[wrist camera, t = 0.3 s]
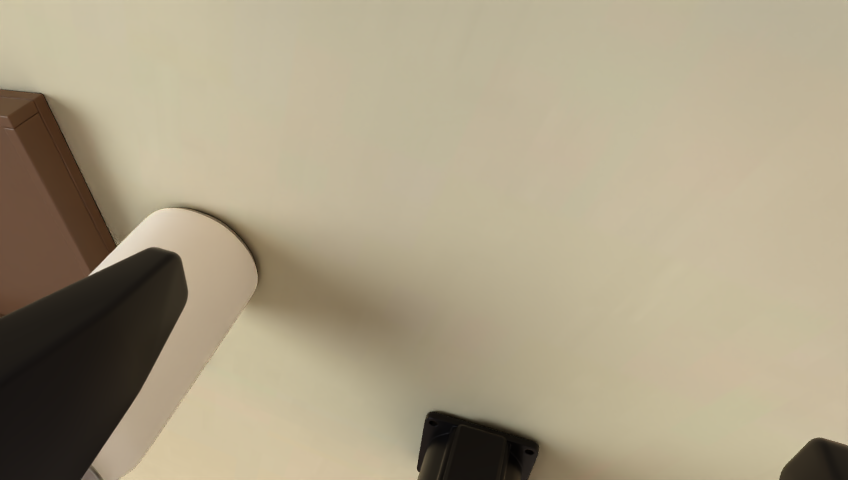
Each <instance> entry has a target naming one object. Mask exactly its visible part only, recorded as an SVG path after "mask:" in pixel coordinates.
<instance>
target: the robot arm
mask: <svg viewBox="0 0 848 480" xmlns="http://www.w3.org/2000/svg"><path fill="white" fill-rule="evenodd" d="M187 298H188V287H187V282H186V278H185V273H184V268H183V263H182V259H181V257H180V256H179V255H178V254H177V253H175V252H172V251H169V250H165V249H162V248H158V247H150V248H147V249H145V250H142V251H140V252H138V253H136V254H134V255H132V256H130V257H128V258H126V259H123V260H121V261H119V262H117V263H115V264H113V265H111V266H109V267H107V268H104V269H102V270H100V271H98V272H96V273H94V274H92V275H90V276H87V277H85V278H83V279H81V280H79V281H77V282H75V283H73V284H71V285H68V286H66V287H64V288H62V289H60V290H58V291H56V292H54V293H52V294H49V295H47V296H45V297H43V298H41V299H39V300H37V301H35V302H32V303H30V304H28V305H26V306H24V307H22V308H20V309H18V310H16V311H13V312H11V313H9V314H7V315H5V316H3V317H1V318H0V480H81V479H82V478H83V476H84V475H85V473H86V472H87V470H88V469H89V467H90V466H91V464H92V463H93V461H94V460H95V458H96V457H97V455H98V454H99V452H100V451H101V449H102V448H103V446H104V445H105V443H106V442H107V440H108V439H109V437H110V436H111V434H112V433H113V431H114V430H115V428H116V427H117V426H118V424H119V423H120V421H121V420H122V418H123V417H124V415H125V414H126V412H127V411H128V409H129V408H130V406H131V405H132V403H133V401H134V400H135V398H136V397H137V395H138V394H139V392H140V390H141V388H142V387H143V385H144V383H145V381H146V380H147V378H148V376H149V374H150V372H151V370H152V368H153V366H154V364H155V363H156V361H157V359H158V357H159V355H160V353H161V351H162V349H163V347H164V345H165V343H166V342H167V340H168V338H169V336H170V334H171V332H172V330H173V328H174V326H175V324H176V322H177V321H178V319H179V317H180V315H181V313H182V311H183V309H184V307H185V305H186V302H187ZM538 452H539V446H538V444H537V443H535V442H533V441H530V440H527V439H523V438H520V437H517V436H513V435H510V434H506V433H503V432H500V431H496V430H493V429H489V428H486V427H483V426H479V425H476V424H473V423H469V422H466V421H462V420H459V419H456V418H452V417H449V416H446V415H442V414H439V413H435V412H430V413H428V414H427V416H426V419H425V423H424V429H423V435H422V441H421V447H420V453H419V459H418V465H417V470H418V472H420V473H419V476H418V480H528V477H529V475H530V472H531V470H532V468H533V465H534V463H535V461H536V458H537V456H538ZM779 480H848V446H847V445H845V444H841V443H838V442H835V441H831V440H828V439H824V438H815V439H812V440H811V441H809V442H808V443H807V444H806V445H805V446H804V447H803V448H802V449H801V450H800V451H799V452H798V453H797V454H796V455H795V456H794V457H793V458H792V459H791V460H790V461H789V462H788V463H787V464H786V465H785V467H784V468H783V470H782V472H781V475H780V479H779Z"/></svg>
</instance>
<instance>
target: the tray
mask: <svg viewBox="0 0 848 480" xmlns="http://www.w3.org/2000/svg"><path fill="white" fill-rule="evenodd" d="M115 248H116V245H115V243H114V241H113V239H112V237H111V235H110V233H109V231H108V229H107V227H106V225H105V223H104V221H103V218H102V216H101V214H100V212H99V210H98V208H97V206H96V204H95V202H94V200H93V198H92V196H91V194H90V191H89V189H88V187H87V185H86V183H85V181H84V179H83V177H82V175H81V173H80V171H79V169H78V167H77V164H76V162H75V160H74V158H73V156H72V154H71V152H70V150H69V148H68V146H67V144H66V142H65V140H64V137H63V135H62V133H61V131H60V129H59V127H58V125H57V123H56V121H55V119H54V117H53V115H52V113H51V110H50V108H49V106H48V104H47V102H46V100H45V98H44V96H43V94H37V93H28V92H18V91H9V90H0V318H1V317H3V316H5V315H7V314H9V313H11V312H13V311H16V310H18V309H20V308H22V307H24V306H26V305H28V304H30V303H32V302H35V301H37V300H39V299H41V298H43V297H45V296H47V295H49V294H52V293H54V292H56V291H58V290H60V289H62V288H64V287H66V286H68V285H71V284H73V283H75V282H77V281H79V280H81V279H83V278H85V277H87V276H89V275H90V274H91V273H92V272H93V271H94V270H95V269H96V268H97V267H98V266H99V265H100V264H101V263H102V261H103V260H104V259H105V258H106V257H107V256H108V255H109V254H110V253H111V252H112V251H113V250H114V249H115Z"/></svg>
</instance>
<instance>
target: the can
mask: <svg viewBox="0 0 848 480" xmlns="http://www.w3.org/2000/svg"><path fill="white" fill-rule="evenodd" d="M150 247H158V248H162V249H165V250H169V251H172V252H175V253H177V254H178V255H179V256H180V257H181V259H182V263H183V268H184V273H185V278H186V282H187V287H188V298H187V302H186V305H185V307H184V309H183V311H182V313H181V315H180V317H179V319H178V321H177V322H176V324H175V326H174V328H173V330H172V332H171V334H170V336H169V338H168V340H167V342H166V343H165V345H164V347H163V349H162V351H161V353H160V355H159V357H158V359H157V361H156V363H155V364H154V366H153V368H152V370H151V372H150V374H149V376H148V378H147V380H146V381H145V383H144V385H143V387H142V388H141V390H140V392H139V394H138V395H137V397H136V398H135V400H134V401H133V403H132V405H131V406H130V408H129V409H128V411H127V412H126V414H125V415H124V417H123V418H122V420H121V421H120V423H119V424H118V426H117V427H116V428H115V430H114V431H113V433H112V434H111V436H110V437H109V439H108V440H107V442H106V443H105V445H104V446H103V448H102V449H101V451H100V452H99V454H98V455H97V457H96V458H95V460H94V461H93V463H92V464H91V466H90V467H89V469H88V470H87V472H86V473H85V475H84V476H83V478H82V479H81V480H118V479H120V478H121V477H123V476H125V475H126V474H128V473H129V472H130V471H132V470H133V469H134V468H135V467H136V466H137V465H138V464H139V462H140V461H141V460H142V458H143V457H144V456H145V454H146V453H147V451H148V450H149V449H150V447H151V446H152V444H153V443H154V441H155V440H156V438H157V437H158V435H159V434H160V433H161V431H162V430H163V428H164V427H165V425H166V424H167V422H168V421H169V419H170V418H171V416H172V415H173V413H174V412H175V410H176V409H177V407H178V406H179V404H180V403H181V402H182V400H183V399H184V397H185V396H186V394H187V393H188V391H189V390H190V388H191V387H192V385H193V384H194V382H195V381H196V379H197V378H198V376H199V375H200V373H201V372H202V370H203V369H204V367H205V366H206V364H207V363H208V361H209V360H210V358H211V357H212V355H213V354H214V352H215V351H216V349H217V348H218V346H219V345H220V344H221V342H222V341H223V339H224V338H225V336H226V335H227V333H228V332H229V330H230V329H231V327H232V326H233V324H234V323H235V321H236V320H237V318H238V317H239V315H240V314H241V312H242V310H243V309H244V307H245V306H246V304H247V303H248V301H249V300H250V298H251V297H252V295H253V293H254V292H255V290H256V287H257V283H258V274H257V269H256V265H255V262H254V259H253V256H252V254H251V252H250V251H249V249H248V247H247V246H246V244H245V243H244V242H243V241H242V240H241V238H240V237H239V236H238V235H237V234H236V233H235V232H234V231H233V230H231V229H230V228H229V227H228V226H227V225H225V224H224V223H223V222H221V221H219V220H218V219H216V218H214V217H212V216H210V215H207V214H205V213H202V212H199V211H195V210H192V209H187V208H164V209H160V210H157V211H155V212H153V213H151V214H150V215H149V216H147V217H146V218H145V219H144V220H143V221H142V222H141V223H140V224H139V225H138V226H137V227H136V228H135V229H134V230H133V231H132V232H131V233H130V234H129V235H128V236H127V237H126V238H125V239H124V240H123V241H122V242H121V243H120V244H119V245H118V246H117V247H116V248H115V249H114V250H113V251H112V252H111V253H110V254H109V255H108V256H107V257H106V258H105V259H104V260H103V261H102V263H101V264H100V265H99V266H98V267H97V268H96V269H95V270H94V271H93V272H92V273H91V274H90V275H92V274H94V273H96V272H98V271H100V270H102V269H104V268H107V267H109V266H111V265H113V264H115V263H117V262H119V261H121V260H123V259H126V258H128V257H130V256H132V255H134V254H136V253H138V252H140V251H142V250H145V249H147V248H150ZM90 275H89V276H90Z"/></svg>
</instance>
